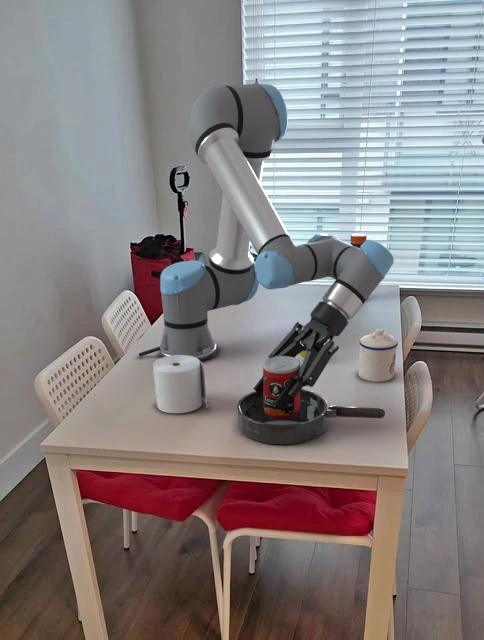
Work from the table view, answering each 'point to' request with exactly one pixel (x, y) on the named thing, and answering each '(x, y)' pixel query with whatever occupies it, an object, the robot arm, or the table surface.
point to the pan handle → (354, 412)
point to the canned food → (279, 385)
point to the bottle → (357, 239)
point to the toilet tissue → (179, 383)
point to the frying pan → (282, 430)
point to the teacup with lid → (377, 356)
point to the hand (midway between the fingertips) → (267, 399)
